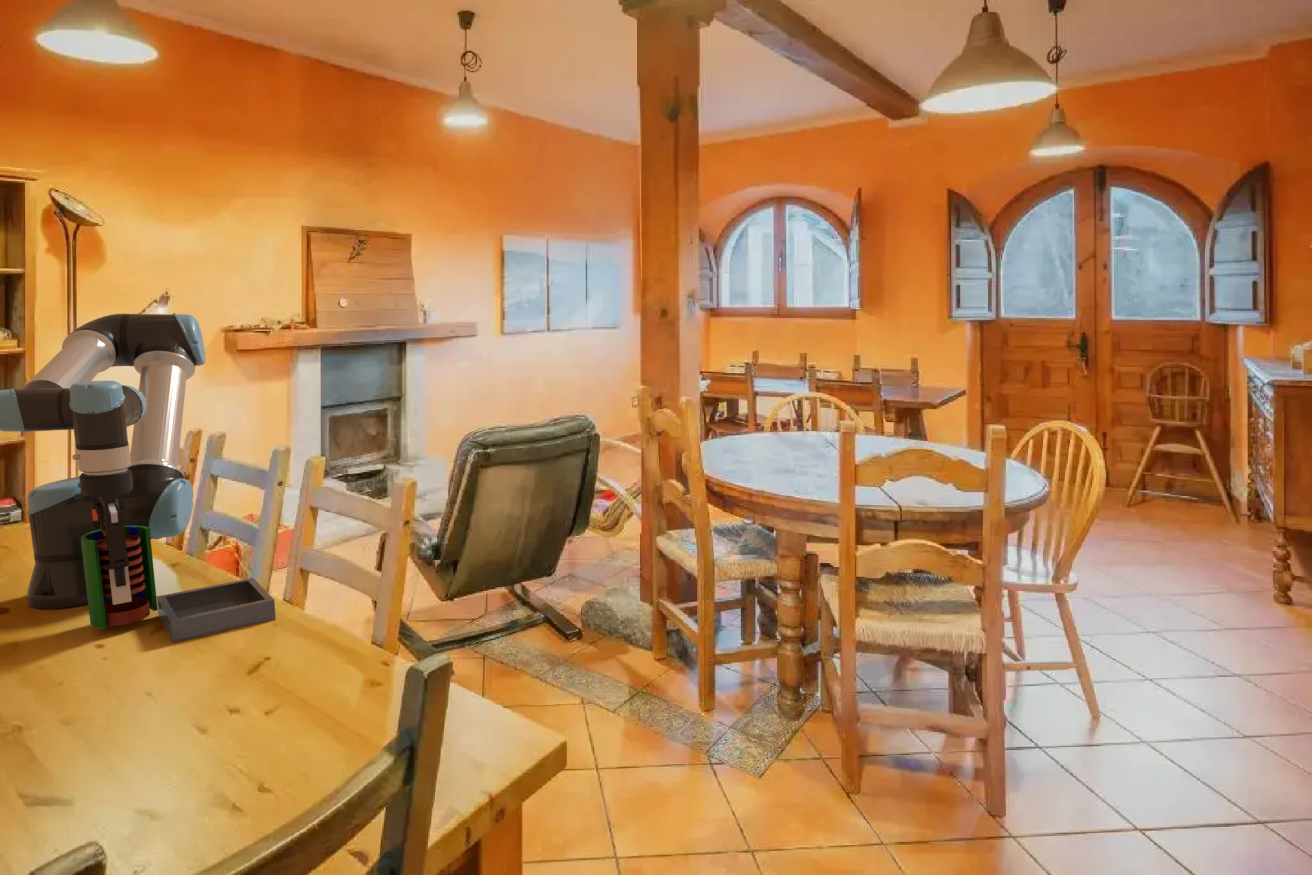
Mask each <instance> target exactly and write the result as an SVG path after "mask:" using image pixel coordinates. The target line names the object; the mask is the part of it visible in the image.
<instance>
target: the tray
mask: <svg viewBox="0 0 1312 875" xmlns="http://www.w3.org/2000/svg"><path fill="white" fill-rule="evenodd" d="M156 599H157V609H158V610H157V615H158V618H159V620H160V622H161V623H162V625H163V627H164V629H165V631H166V633H167V635H168V636H169V638H170V640H171V642H172V643H173V644H175V643H180V642H184V641H188V640H192V639H193V640H194V639H196V638H201V637H206V636H209V635H214V634H218V633H223V632H228V631H232V630H236V629H241V628H245V627H249V626H253V625H258V624H263V623H267V622H271V621H276V619H277V618H276V604H275V599H274V598H273V597H272V596H271V595H270V594H269V593H268V591H266V590H265V588H264V587H263V586H261V584H260V583H259V582H258V581H257V580H256V579H255V578H254V577H250V578H246V579H240V580H233V581H230V582H224V583H219V584H214V585H208V586H205V587H198V588H192V589H188V590H183V591H178V592H173V593H172V592H171V593H168V594H163V595H162V594H161V595H156Z"/></svg>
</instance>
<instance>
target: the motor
mask: <svg viewBox="0 0 1312 875" xmlns="http://www.w3.org/2000/svg"><path fill="white" fill-rule="evenodd" d="M92 515H93V521H98V517H97V513H96V511H95V509H93V510H92ZM104 524H105V523H104ZM124 531H125V540H126V548H127V556H128V561H129V565H128V572H129V581H130V590H131V599H132V601H131V602H126V603H120V604H115V605H113V602H112V593H111V584H110V575H109V570H105V567H106V566H109V564H110V563H109V557H108V550H107V543H106V538H103V537H102V530H101V529H100V530H95V531H92V532H89V533H86V534H84V535H83V536H82V537H81V545H82V554H83V563H84V571H85V580H86V589H87V598H88V604H87V605H88V613H89V614H88V615H89V622H90V626H91V627H93V628H97V629H106V628H107V627H109V626H113V627H115V626H123V625H127V624H129V625H130V624H132V623H136V622H140V621H142V620H144V619H146V618H147V617H149V616H150V614H151V610H152V611H153V612H154V611H158V607H157V597H156V596H157V591H156V589H157V588H156V581H155V569H154V561H153V560H154V558H153V550H152V548H153V547H152V539H151V537H150V528H148V527H145V526H124ZM103 534H104V536H105V531H103ZM122 560H123V559H122ZM116 561H118V560H116Z"/></svg>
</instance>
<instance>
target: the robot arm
mask: <svg viewBox="0 0 1312 875" xmlns="http://www.w3.org/2000/svg"><path fill="white" fill-rule="evenodd" d="M61 345H62V346H61V350H60V351H58V353H57V354H55V356H54V357H52V359H50V361H48V362H47V363H46V364H45V365H44V366H43V367H42V369H40V370H39V371H38V372H37V373H36V374H35V375H34V376H33V377H32V378H31V379H30V380H28V382H27V383H26V384H24V386H23V387H22V388H18V389H17V388H10V389H1V390H0V431H1V432H17V433H18V432H22V433H27V432H46V431H47V432H48V431H73V435H74V442H75V449H76V452H77V453H75V454H72V459H73V461H77V467H78V471H80V472H81V473H80V475H79V476H75V477H70V478H64V479H60V480H56V481H52V482H49V483H44V484H42V485H39V486H36V487H35V488H33V489H31V491H29V492H28V494H27V509H28V510H27V513H26V514H27V515H28V521H29V529H30V535H31V543H32V550H33V556H34V565H33V569H32V573H31V576H30V581H29V585H28V588H27V593H26V594H27V603H28V605H29V606H30V607H32V608H36V609H42V610H44V609H45V610H46V609H48V610H50V609H52V610H53V609H64V608H74V607H77V606H84V605H88V598H87V589H86V580H85V571H84V563H83V554H82V545H81V537H82V536H83V535H84V534H86V533H89V532H92V531H95V530H100V529H101V530H102V537H103V538H106V543H107V550H108V557H109V563H110V564H109V566H106V567H105V570H109V575H110V584H111V593H112V602H113V605H115V604H120V603H126V602H131V601H132V599H131V590H130V581H129V572H128V565H129V561H128V556H127V548H126V540H125V531H124V526H145V527H148V528H150V537H151V540H160V539H163V538H173V537H177V536H180V535H181V534H183V532H184V531H185V530H186V529H187V527H188V525H189V523H190V520H191V517H192V514H193V508H194V501H193V499H194V488H193V485H192V482H191V481H190V480H189V479H186V478H185V477H186V476H185V474H184V472H183V471H182V470H180V469H179V468H178V465H179V457H180V456H179V455H180V446H181V445H180V444H181V437H182V436H181V435H182V425H183V416H184V415H183V414H184V407H185V406H184V404H185V395H186V386H187V380H189V379H190V378H192V377H193V376H194V375H195V372H196V366H197V367H201V366H203V365H205V364H206V350H205V344H204V338H203V334H202V330H201V326H200V324H199V322H198V320H197V318H196V317H194V316H193V315H192V314H182V313H175V312H173V313H172V314H170V313H168V314H167V313H166V314H165V313H163V314H162V313H156V314H155V313H114V314H110V315H105V316H101V317H98V318H95V319H93V320H91V321H89V322H87V323H84V324H82V325H81V326H79V327H77V328H75V329H74V330H73V331H72V332H70V333H69V334H68V335H66V337H65V338H64V340H63V342H62V344H61ZM113 367H115V368H116V367H134V369H135V371H136V372H137V373H138V374H139V375H140V376H139V384H138V389H137V388H135V387H134V386H130V385H125V384H121V383H120V382H118V381H115V380H93V379H95V378H96V376H97V375H98V374H99V373H103V372H106V371H107V370H109V369H110V368H113ZM130 426H133V430H132V437H131V444H129V438H128V428H127V427H130ZM130 445H131V446H130ZM93 509H95V511H96V513H97V517H98V521H93V515H92V510H93ZM104 523H105V524H104ZM103 531H105V536H104V534H103ZM122 559H123V560H122ZM116 560H118V561H116Z"/></svg>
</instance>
